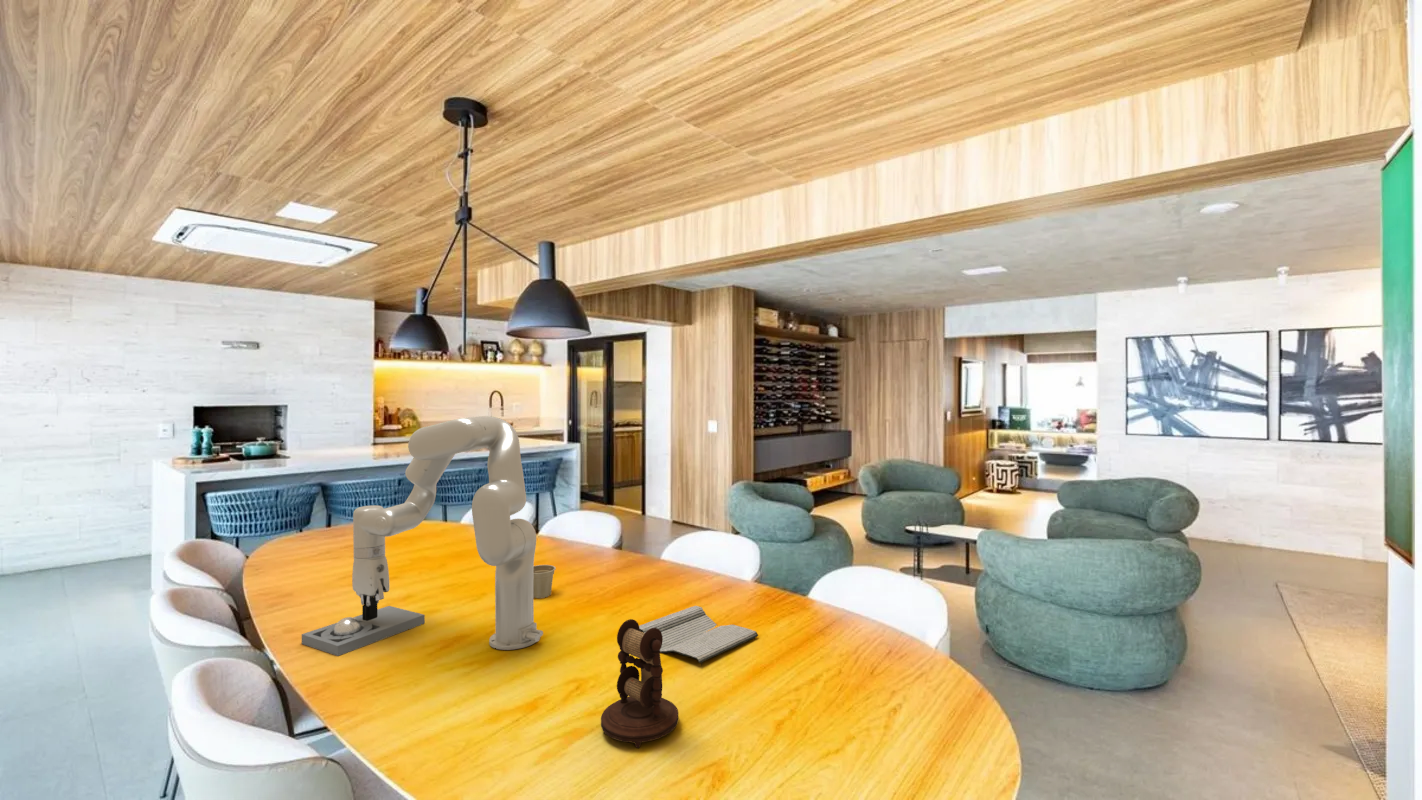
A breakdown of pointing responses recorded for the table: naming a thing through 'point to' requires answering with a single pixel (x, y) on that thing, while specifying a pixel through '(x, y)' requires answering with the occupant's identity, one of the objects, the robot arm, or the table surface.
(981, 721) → the table surface
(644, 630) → the mat
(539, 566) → the flower pot
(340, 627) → the steel ball
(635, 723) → the thread spool stand
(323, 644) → the hole board
